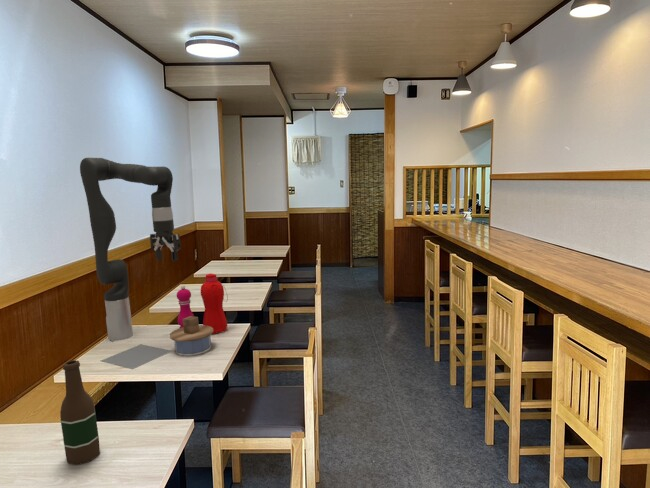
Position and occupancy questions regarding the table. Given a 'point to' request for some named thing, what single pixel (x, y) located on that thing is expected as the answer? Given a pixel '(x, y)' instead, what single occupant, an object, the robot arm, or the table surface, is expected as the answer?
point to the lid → (191, 330)
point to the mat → (136, 356)
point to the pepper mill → (184, 304)
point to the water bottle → (213, 304)
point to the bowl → (193, 346)
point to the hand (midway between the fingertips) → (167, 260)
